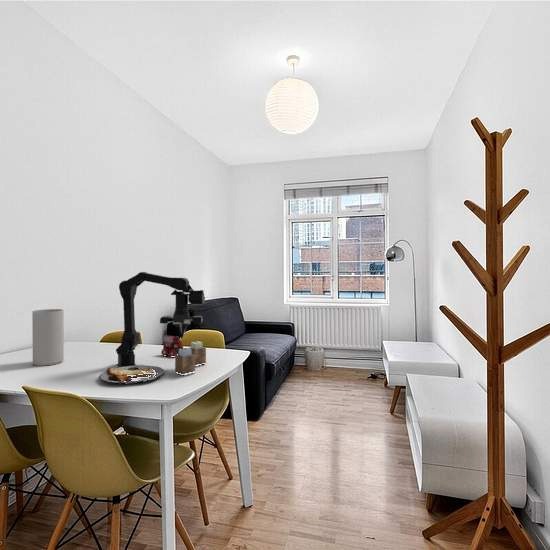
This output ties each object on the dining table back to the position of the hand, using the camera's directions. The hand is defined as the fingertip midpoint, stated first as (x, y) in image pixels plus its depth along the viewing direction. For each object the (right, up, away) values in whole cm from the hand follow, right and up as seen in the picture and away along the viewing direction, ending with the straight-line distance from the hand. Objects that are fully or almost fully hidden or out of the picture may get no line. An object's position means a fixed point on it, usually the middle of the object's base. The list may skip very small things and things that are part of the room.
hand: (181, 338), depth 167 cm
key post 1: (+7, -13, +2) cm, 15 cm away
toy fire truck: (-10, -13, +19) cm, 25 cm away
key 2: (+5, -11, -12) cm, 17 cm away
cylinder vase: (-65, -13, +4) cm, 66 cm away
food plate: (-16, -14, -18) cm, 28 cm away
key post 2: (+5, -13, -12) cm, 18 cm away
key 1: (+7, -11, +2) cm, 13 cm away
